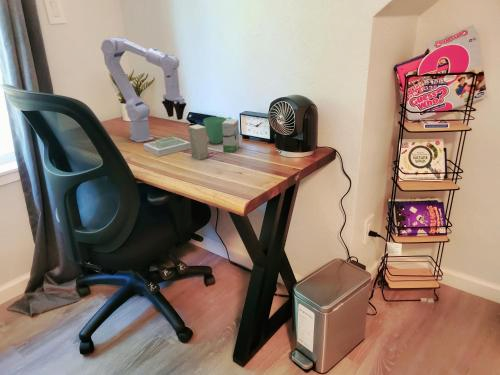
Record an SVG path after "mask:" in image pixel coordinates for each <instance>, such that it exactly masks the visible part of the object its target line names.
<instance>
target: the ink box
mask: <svg viewBox="0 0 500 375" xmlns="http://www.w3.org/2000/svg"><path fill="white" fill-rule="evenodd" d="M239 128H240V127H239V119H237V118H232V119H226V120H225V121H224V122H223V123H222V129H223V140H222V145H223V147H222V148H223V152H224V153H236V151H237V150H238V148H239V147H240V130H239Z"/></svg>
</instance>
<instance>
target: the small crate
mask: <svg viewBox="0 0 500 375" xmlns="http://www.w3.org/2000/svg"><path fill="white" fill-rule="evenodd" d="M174 137H175V136H170V137H165V138H160V139H156V140H155V141H154V142H155V143H156V148H158V149H162V148H166V147H170V146H174V145H178V144H179V140H178V139H177V138H178V137H177V138H174Z"/></svg>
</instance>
